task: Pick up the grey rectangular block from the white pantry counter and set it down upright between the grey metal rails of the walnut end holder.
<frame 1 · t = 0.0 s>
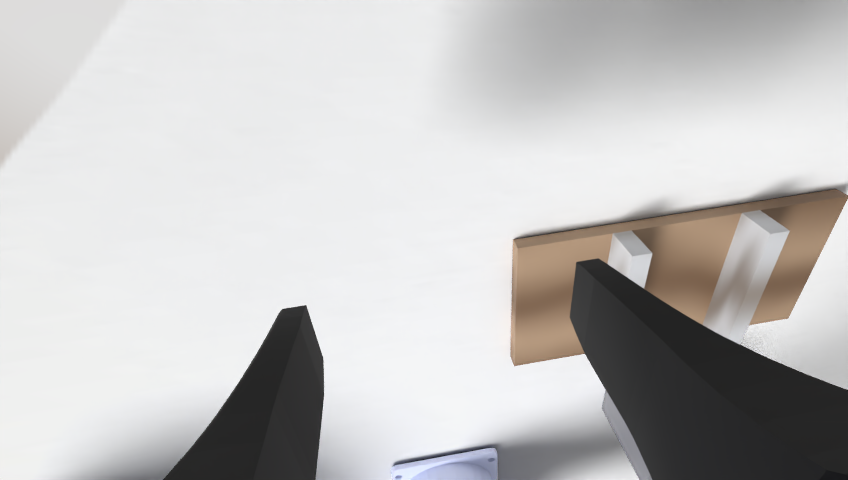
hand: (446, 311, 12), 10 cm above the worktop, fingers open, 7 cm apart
end holder: (661, 278, 27), on the worktop
grey rectangular block: (632, 386, 33), on the worktop
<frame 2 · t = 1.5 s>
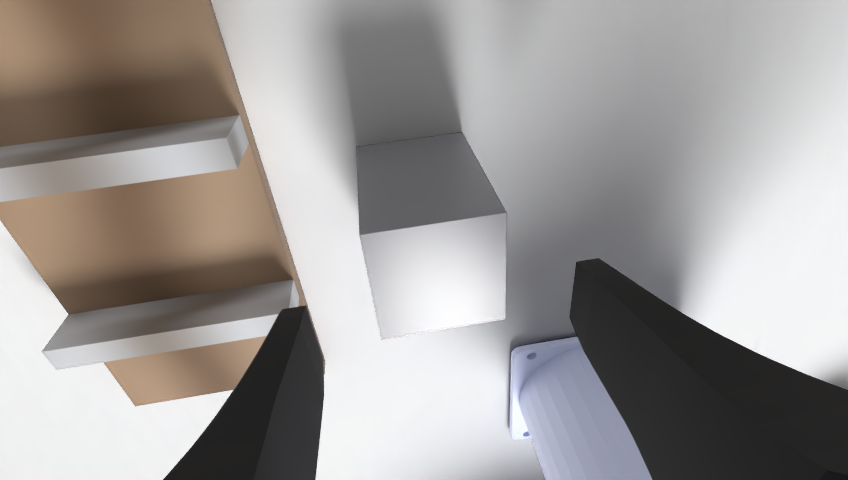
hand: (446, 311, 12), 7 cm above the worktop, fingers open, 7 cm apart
end holder: (158, 224, 18), on the worktop
grey rectangular block: (414, 186, 18), on the worktop
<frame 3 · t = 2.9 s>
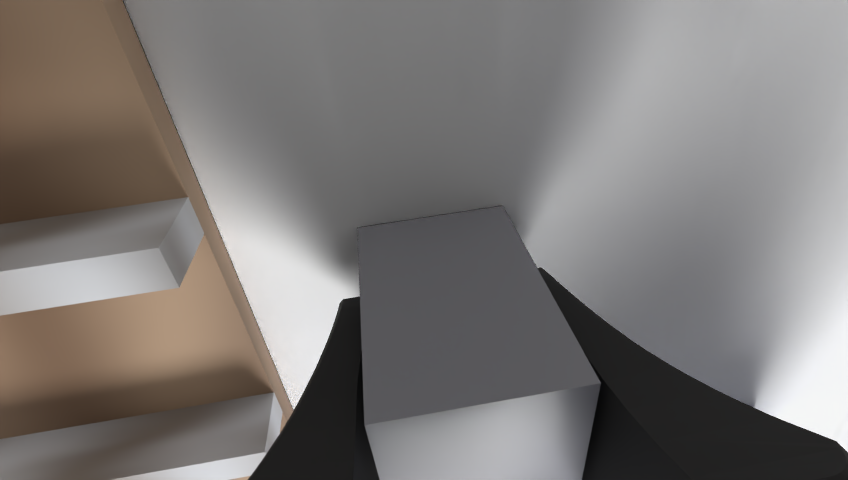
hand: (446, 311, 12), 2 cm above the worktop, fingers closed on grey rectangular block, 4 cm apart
end holder: (88, 329, 13), on the worktop
grey rectangular block: (436, 273, 14), on the worktop, touching gripper
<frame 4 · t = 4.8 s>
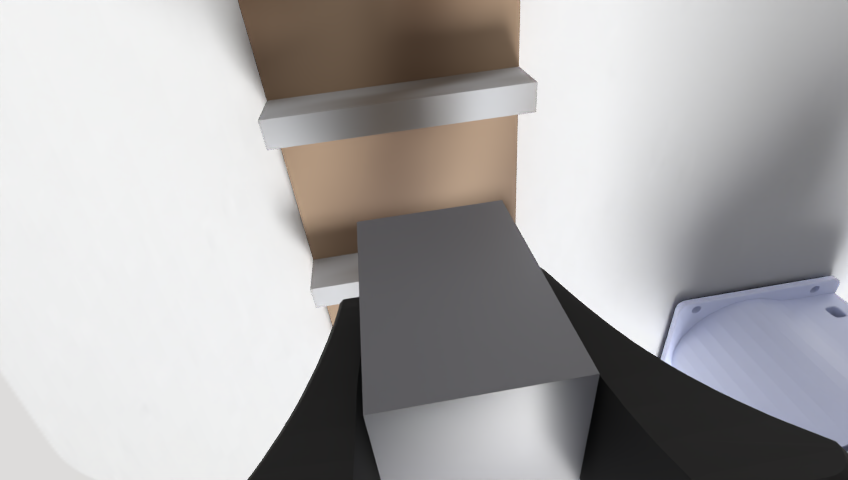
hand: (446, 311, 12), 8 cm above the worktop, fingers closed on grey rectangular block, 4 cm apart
end holder: (405, 174, 19), on the worktop
grey rectangular block: (435, 268, 14), point 7 cm above the worktop, touching gripper
when the fingers open (3 cm above the worktop, at t = 6.6 s): grey rectangular block stays where it is, resting on end holder.
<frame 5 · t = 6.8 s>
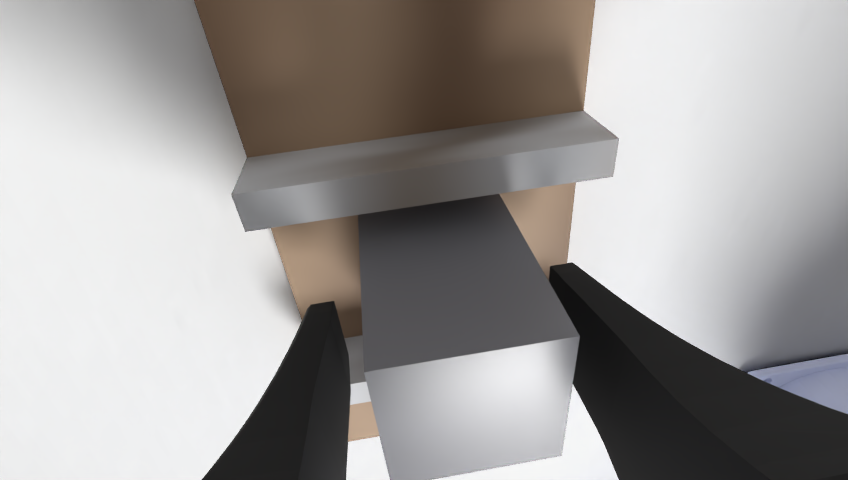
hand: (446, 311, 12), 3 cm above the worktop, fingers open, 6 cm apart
end holder: (427, 240, 15), on the worktop
grey rectangular block: (432, 251, 14), point 1 cm above the worktop, touching end holder
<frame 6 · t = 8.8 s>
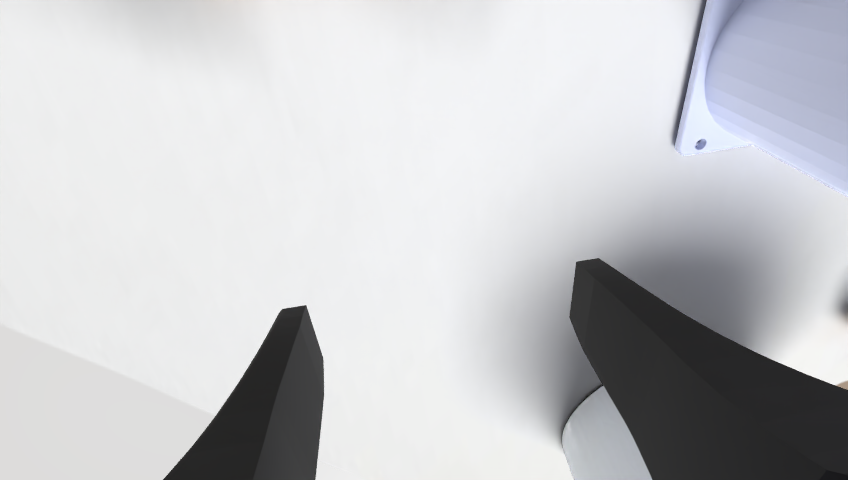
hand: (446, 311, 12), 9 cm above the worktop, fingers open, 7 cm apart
utensil holder: (648, 416, 35), on the worktop
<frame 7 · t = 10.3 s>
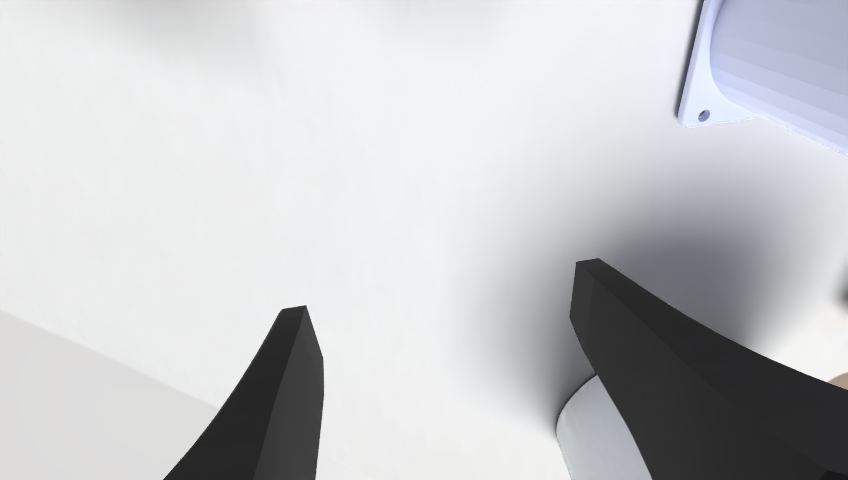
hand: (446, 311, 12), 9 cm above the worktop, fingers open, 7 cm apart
utensil holder: (644, 407, 34), on the worktop
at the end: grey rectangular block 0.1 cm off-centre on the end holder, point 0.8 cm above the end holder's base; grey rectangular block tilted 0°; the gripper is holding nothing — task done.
